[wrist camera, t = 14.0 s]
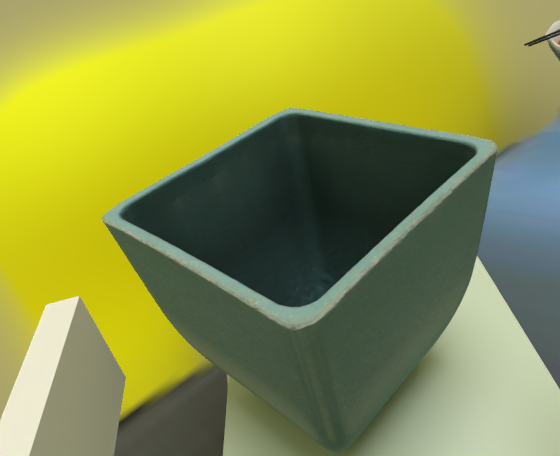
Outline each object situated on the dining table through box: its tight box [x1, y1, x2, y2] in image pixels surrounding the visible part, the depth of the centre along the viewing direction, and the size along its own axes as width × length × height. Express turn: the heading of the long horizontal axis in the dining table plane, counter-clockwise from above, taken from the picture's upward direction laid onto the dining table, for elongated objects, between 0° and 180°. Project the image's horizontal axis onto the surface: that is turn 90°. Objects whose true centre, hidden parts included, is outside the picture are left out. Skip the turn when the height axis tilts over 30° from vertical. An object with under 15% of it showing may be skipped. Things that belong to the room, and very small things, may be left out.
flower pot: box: [102, 108, 497, 452], centre depth 17 cm, size 9×9×9 cm
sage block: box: [223, 257, 560, 456], centre depth 21 cm, size 12×12×5 cm
